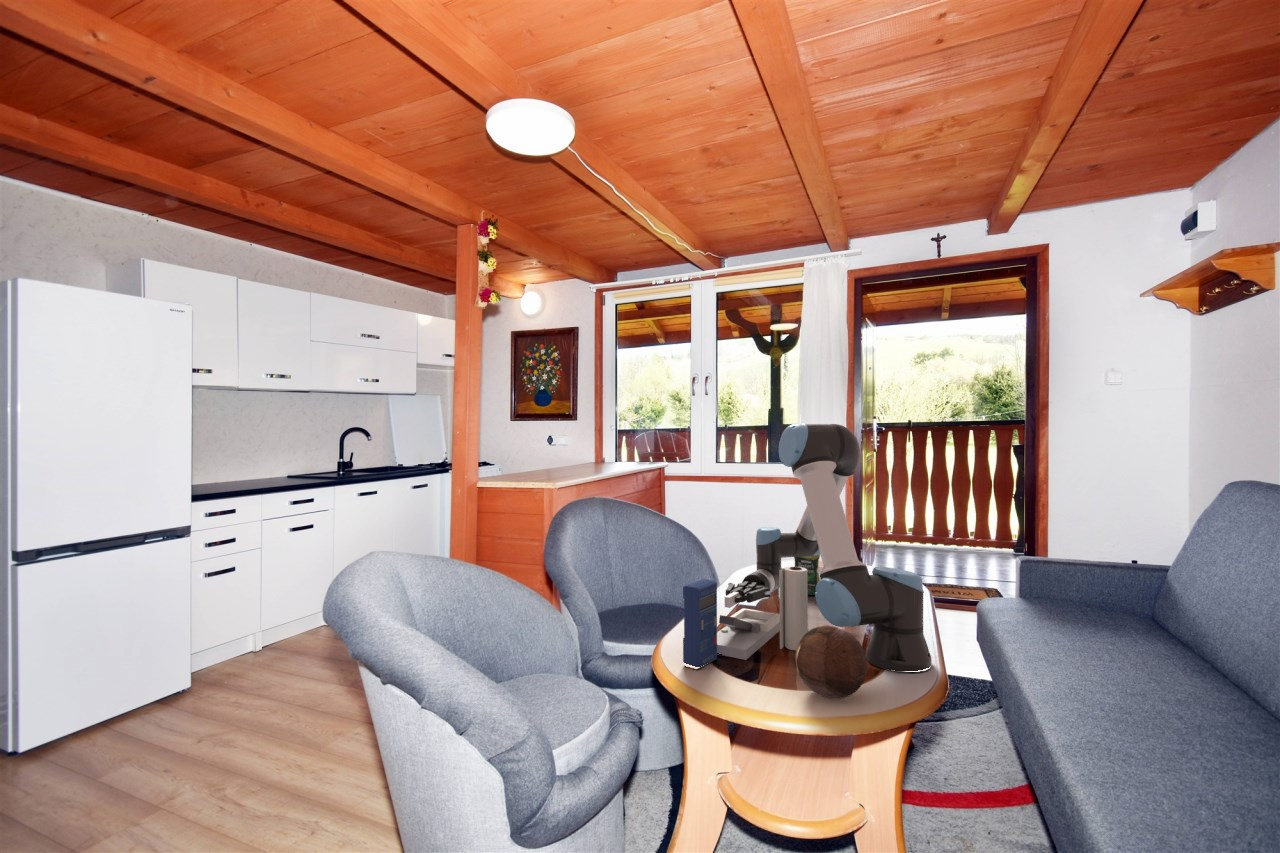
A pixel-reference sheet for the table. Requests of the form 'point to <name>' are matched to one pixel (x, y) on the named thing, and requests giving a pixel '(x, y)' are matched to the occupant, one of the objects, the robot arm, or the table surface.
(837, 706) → the table surface
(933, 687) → the table surface
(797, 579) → the paper towel roll
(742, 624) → the breaker lever
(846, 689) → the wooden sphere
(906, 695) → the table surface
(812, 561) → the coffee jar
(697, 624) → the electronic device
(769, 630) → the board
